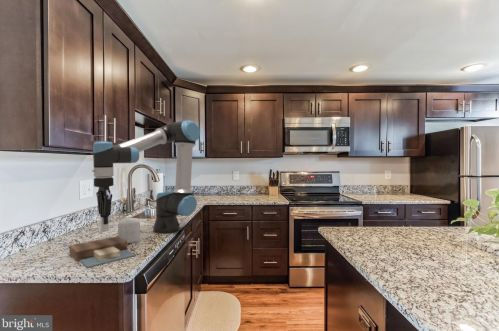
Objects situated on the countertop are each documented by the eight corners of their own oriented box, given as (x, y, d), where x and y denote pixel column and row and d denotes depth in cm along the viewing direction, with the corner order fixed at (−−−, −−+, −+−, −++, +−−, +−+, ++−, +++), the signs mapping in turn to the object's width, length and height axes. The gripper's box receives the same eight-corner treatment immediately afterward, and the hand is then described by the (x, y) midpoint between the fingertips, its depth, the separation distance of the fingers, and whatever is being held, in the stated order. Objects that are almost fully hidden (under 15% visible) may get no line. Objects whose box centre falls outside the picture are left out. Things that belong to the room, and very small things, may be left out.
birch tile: (113, 252, 117) (113, 246, 117) (120, 256, 112) (120, 250, 111) (93, 256, 111) (93, 250, 111) (99, 261, 106) (99, 255, 106)
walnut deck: (117, 244, 130) (117, 236, 130) (127, 250, 122) (127, 241, 122) (69, 254, 115) (69, 245, 115) (76, 261, 107) (76, 251, 107)
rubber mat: (125, 250, 121) (125, 249, 121) (134, 256, 114) (134, 255, 114) (80, 261, 107) (80, 260, 107) (87, 268, 101) (87, 266, 101)
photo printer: (138, 240, 138) (139, 216, 137) (140, 242, 134) (140, 217, 134) (117, 243, 132) (117, 218, 132) (118, 245, 128) (118, 220, 128)
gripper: (89, 177, 116) (90, 230, 116) (99, 178, 107) (100, 236, 107) (107, 176, 121) (108, 226, 122) (118, 177, 112) (119, 232, 113)
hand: (104, 231), depth 115 cm, fingers closed
